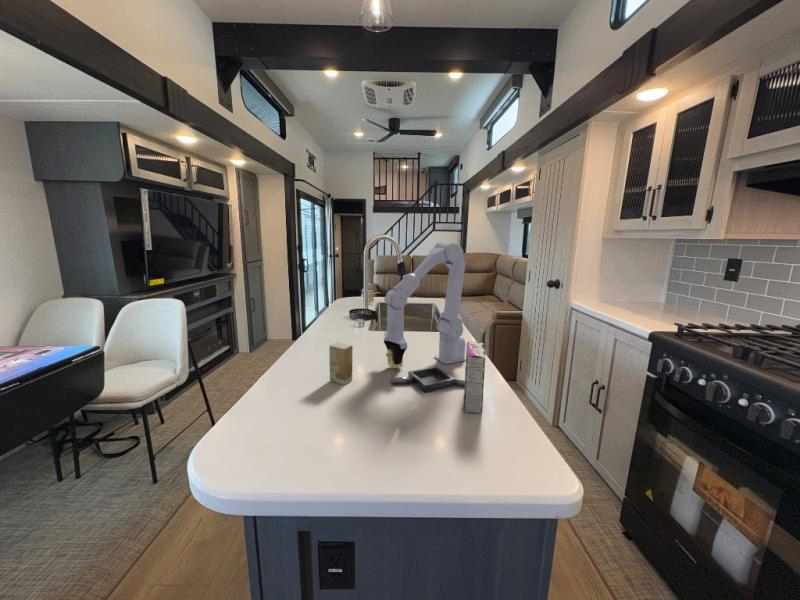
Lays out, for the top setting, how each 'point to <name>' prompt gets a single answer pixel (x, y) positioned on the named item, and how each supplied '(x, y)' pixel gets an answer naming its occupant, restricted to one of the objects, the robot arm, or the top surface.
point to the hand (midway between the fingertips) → (395, 361)
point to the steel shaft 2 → (459, 383)
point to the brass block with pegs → (392, 359)
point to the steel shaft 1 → (402, 380)
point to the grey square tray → (432, 379)
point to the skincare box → (341, 363)
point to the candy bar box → (474, 377)
